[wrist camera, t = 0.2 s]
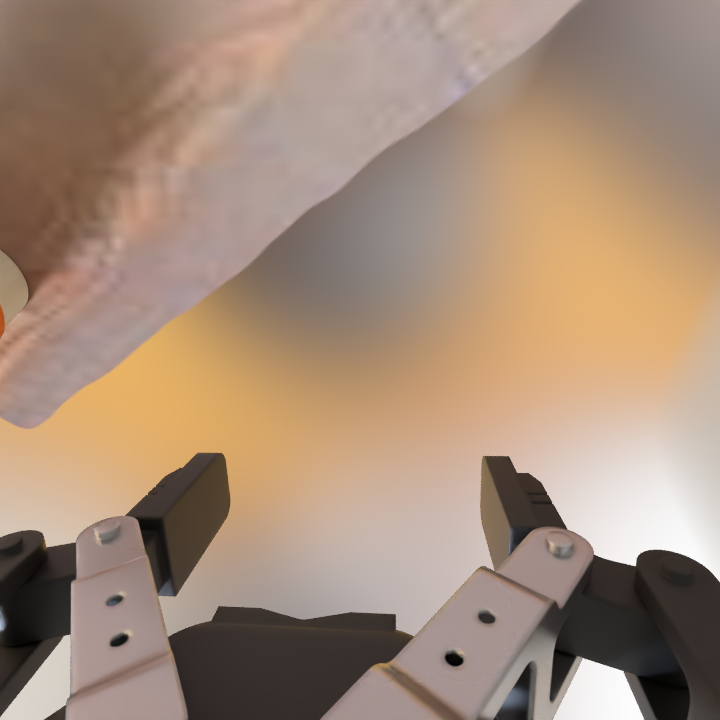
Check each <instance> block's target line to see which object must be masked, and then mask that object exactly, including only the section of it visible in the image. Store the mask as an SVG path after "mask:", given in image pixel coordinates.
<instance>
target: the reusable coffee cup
mask: <svg viewBox="0 0 720 720" xmlns="http://www.w3.org/2000/svg"><path fill="white" fill-rule="evenodd" d="M28 297H29V294H28V286H27V283H26V280H25V278H24V276H23V274H22V273H21V271H20V270H19V268H18V267H17V265H16V264H15V263H14V262H13V261H12V260H11V259H10V258H9V257H8V256H7V255H6V254H5V253H3V252H2V251H1V250H0V338H1V336H2V334H3V332H4V327H5V326H6V325H7V324H8V323H9V322H10V321H11V320H12V319H13V318H14V317H15V316H16V315H17V314H18V313H19V312H20V311H21V310H22V309H23V308H24V307H25V305H26V303H27V301H28Z"/></svg>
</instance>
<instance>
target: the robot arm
mask: <svg viewBox="0 0 720 720" xmlns="http://www.w3.org/2000/svg"><path fill="white" fill-rule="evenodd" d="M480 502H481V503H480V507H481V520H482V526H483V529H484V533H485V536H486V540H487V544H488V547H489V551H490V555H491V559H492V563H493V566H494V570H495V571H493V570H491V569H489V568H487V567H485V566H482V567H480V568H478V569H477V570H476V571H475V572H474V573H473V574H472V575H471V576H470V578H468V580H467V581H466V582H465V583H464V584H463V585H462V586H461V587H460V588H459V589H458V590H457V591H456V592H455V594H454V595H453V596H452V597H451V598H450V599H449V600H448V601H447V602H446V603H445V604H444V605H443V606H442V607H441V609H440V610H439V611H438V612H437V613H436V614H435V615H434V616H433V617H432V618H431V619H430V620H429V621H428V623H427V624H426V625H425V626H424V627H423V628H422V629H421V630H420V631H419V632H418V633H417V634H416V635H415V636H412V635H409V634H407V633H405V632H402V631H398V630H396V615H395V614H373V613H353V612H350V613H344V614H338V615H332V616H326V617H319V618H313V619H306V620H301V619H296V618H293V617H290V616H286V615H282V614H279V613H275V612H272V611H269V610H265V609H262V608H244V607H222V606H219V607H218V609H217V611H216V613H215V615H214V617H213V619H212V621H209V622H205V623H201V624H197V625H194V626H191V627H188V628H186V629H183V630H181V631H179V632H177V633H175V634H173V635H171V636H169V637H168V636H167V631H166V627H165V623H164V619H163V615H162V611H161V607H160V603H159V599H158V596H176V595H177V594H178V592H179V590H180V589H181V587H182V586H183V584H184V583H185V581H186V580H187V578H188V577H189V575H190V574H191V572H192V570H193V569H194V567H195V566H196V564H197V563H198V561H199V559H200V558H201V556H202V555H203V553H204V552H205V550H206V549H207V547H208V546H209V544H210V542H211V541H212V540H213V538H214V537H215V535H216V533H217V532H218V530H219V529H220V527H221V526H222V524H223V523H224V521H225V520H226V518H227V516H228V513H229V508H230V492H229V485H228V476H227V468H226V460H225V457H224V455H223V454H222V453H197V454H196V455H195V456H194V457H193V458H192V459H191V460H190V461H189V462H188V463H187V464H186V465H185V466H184V467H183V468H179V469H178V470H176V471H174V472H172V473H170V474H168V475H167V476H165V477H164V478H163V479H162V480H161V481H160V482H159V483H158V484H157V485H156V487H154V488H153V489H152V490H151V491H150V492H149V493H148V495H146V496H145V497H144V498H143V499H142V500H141V501H140V502H139V503H138V504H137V505H136V506H134V508H132V509H131V510H130V512H129V513H127V514H126V515H125V516H117V517H111V518H107V519H104V520H101V521H99V522H97V523H95V524H93V525H91V526H89V527H88V528H86V529H85V530H84V531H83V532H81V533H80V535H79V536H78V538H77V540H76V543H71V544H65V545H59V546H53V547H47V548H46V544H45V540H44V536H43V534H42V533H41V532H39V531H33V530H27V531H20V532H16V533H12V534H8V535H6V536H3V537H1V538H0V717H1V715H2V714H3V713H4V711H5V710H6V709H7V708H8V706H9V705H10V704H11V703H12V701H13V700H14V699H15V698H16V696H17V695H18V694H19V693H20V691H21V690H22V689H23V688H24V686H25V685H26V684H27V683H28V681H29V680H30V679H31V678H32V676H33V675H34V674H35V672H36V671H37V670H38V669H39V667H40V666H41V665H42V664H43V662H44V661H45V660H46V659H47V657H48V656H49V655H50V654H51V652H52V651H53V650H54V649H55V647H56V646H57V645H58V644H59V642H60V641H61V639H62V638H63V636H65V635H69V634H71V662H70V664H71V665H70V667H71V669H70V697H69V698H68V699H67V703H66V705H65V706H64V707H62V708H61V709H59V710H58V711H56V712H55V713H53V714H52V715H51V716H49V717H47V718H46V719H44V720H553V718H554V716H555V714H556V712H557V709H558V708H559V706H560V703H561V702H562V699H563V697H564V695H565V693H566V691H567V689H568V687H569V685H570V683H571V681H572V679H573V677H574V675H575V673H576V671H577V669H578V667H579V665H580V663H581V661H582V658H585V659H588V660H591V661H594V662H597V663H600V664H603V665H607V666H610V667H613V668H616V669H619V670H622V671H624V673H625V676H626V679H627V681H628V683H629V685H630V688H631V690H632V692H633V694H634V697H635V699H636V701H637V704H638V706H639V708H640V710H641V713H642V715H643V717H644V720H720V582H719V581H718V580H717V578H716V577H715V576H714V575H713V574H712V573H711V572H710V571H709V570H708V569H707V568H706V567H704V566H703V565H702V564H700V563H698V562H697V561H695V560H693V559H691V558H689V557H686V556H684V555H681V554H678V553H674V552H670V551H665V550H648V551H645V552H643V553H641V554H640V555H639V556H638V558H637V562H636V566H631V565H627V564H623V563H618V562H614V561H610V560H606V559H603V558H601V557H598V556H596V555H594V551H593V548H592V547H591V545H590V544H589V542H588V541H587V540H586V539H584V538H583V537H581V536H580V535H578V534H576V533H574V532H572V531H569V530H567V528H566V526H565V524H564V522H563V521H562V519H561V517H560V515H559V514H558V512H557V510H556V508H555V506H554V505H553V504H552V501H551V499H550V498H549V496H548V495H547V492H546V491H545V489H544V487H543V485H542V483H541V482H540V481H538V480H537V479H536V478H534V477H533V476H532V475H530V474H529V473H517V472H516V470H515V468H514V466H513V464H512V462H511V460H510V458H509V457H508V456H507V457H506V456H483V459H482V471H481V501H480Z"/></svg>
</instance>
